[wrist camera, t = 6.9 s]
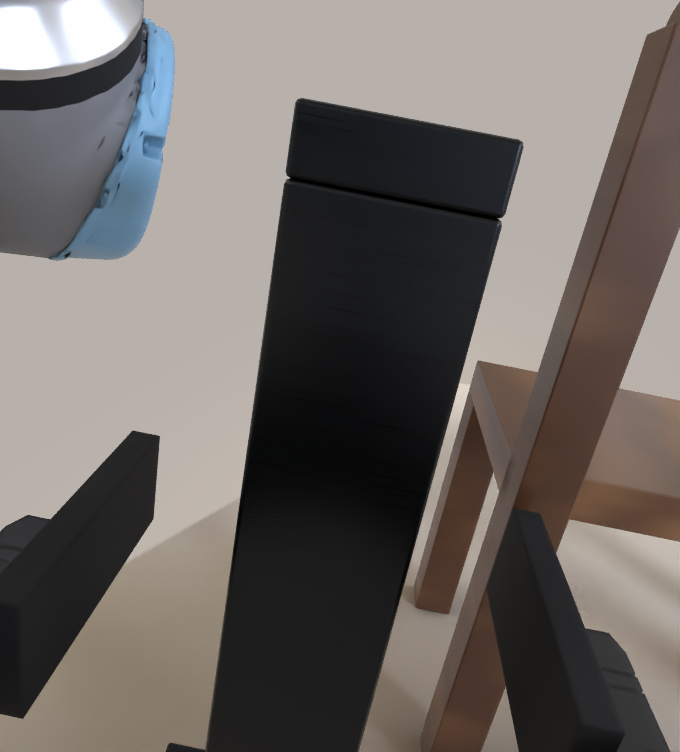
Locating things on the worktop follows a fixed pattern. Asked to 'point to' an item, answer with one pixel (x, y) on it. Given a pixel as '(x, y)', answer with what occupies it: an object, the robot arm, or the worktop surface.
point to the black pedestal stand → (349, 413)
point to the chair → (567, 405)
